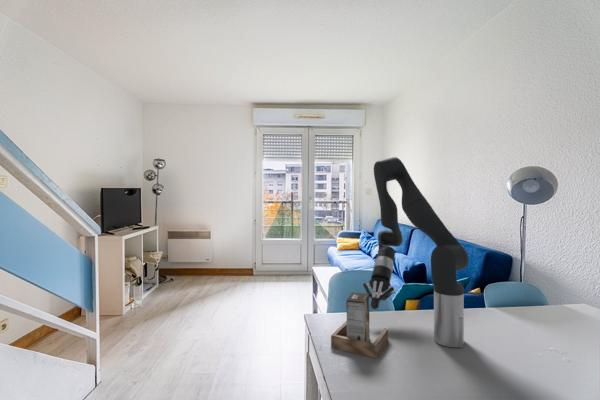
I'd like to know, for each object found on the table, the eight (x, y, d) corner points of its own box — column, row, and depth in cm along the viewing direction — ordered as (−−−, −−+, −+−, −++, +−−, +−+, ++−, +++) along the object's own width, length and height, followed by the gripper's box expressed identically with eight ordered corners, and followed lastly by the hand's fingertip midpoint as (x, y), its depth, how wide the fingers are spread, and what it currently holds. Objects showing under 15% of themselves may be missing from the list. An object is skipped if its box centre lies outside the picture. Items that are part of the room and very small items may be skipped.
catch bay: (387, 340, 113) (387, 328, 113) (375, 358, 101) (375, 345, 101) (346, 331, 121) (346, 320, 121) (331, 347, 109) (331, 335, 109)
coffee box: (351, 336, 117) (351, 291, 116) (369, 338, 115) (369, 293, 114) (346, 347, 108) (346, 299, 108) (365, 350, 106) (365, 301, 106)
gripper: (365, 262, 136) (355, 300, 125) (397, 266, 129) (389, 306, 119) (369, 272, 141) (359, 310, 130) (400, 276, 134) (393, 316, 124)
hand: (374, 308), depth 125 cm, fingers closed
